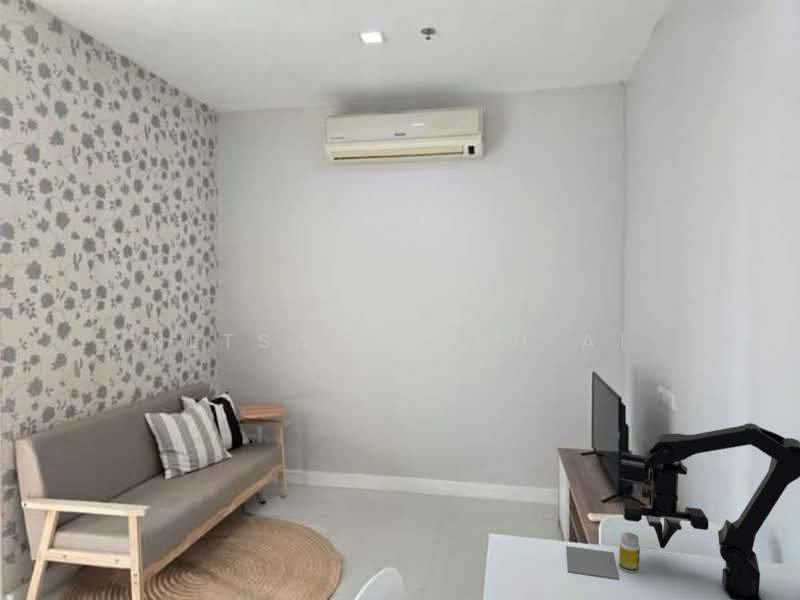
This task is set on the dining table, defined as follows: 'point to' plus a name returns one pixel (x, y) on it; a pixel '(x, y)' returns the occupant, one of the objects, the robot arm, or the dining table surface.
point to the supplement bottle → (629, 553)
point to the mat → (591, 562)
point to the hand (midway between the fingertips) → (662, 547)
